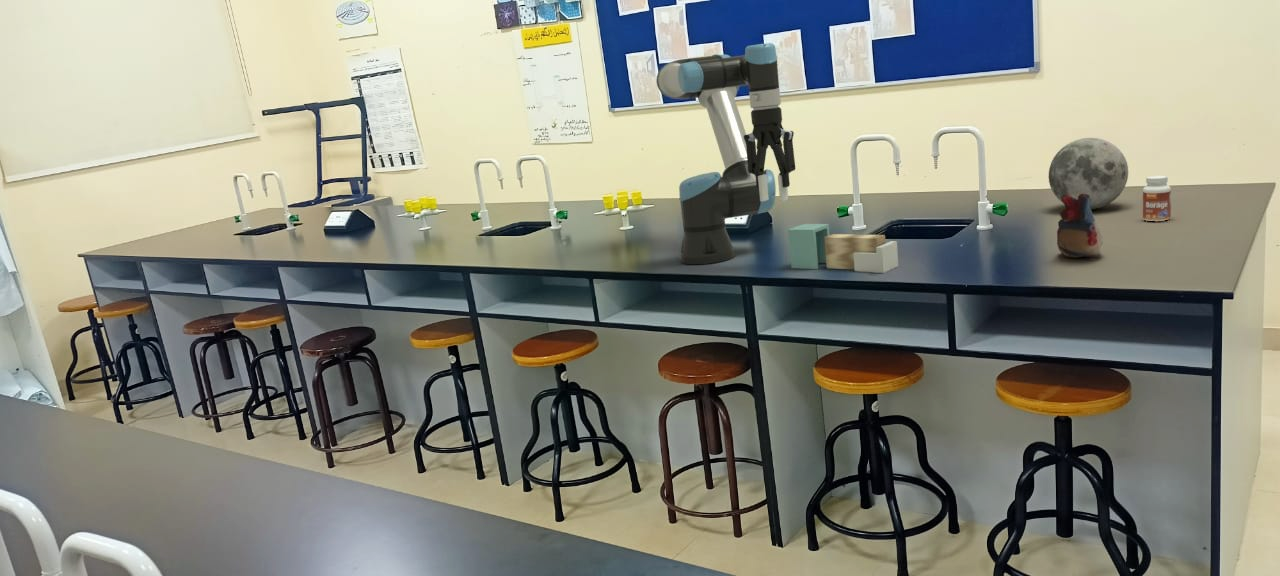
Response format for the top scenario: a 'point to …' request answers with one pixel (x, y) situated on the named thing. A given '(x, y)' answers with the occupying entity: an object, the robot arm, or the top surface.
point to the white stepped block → (877, 259)
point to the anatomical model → (1078, 228)
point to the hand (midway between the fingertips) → (774, 200)
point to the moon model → (1089, 171)
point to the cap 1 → (808, 245)
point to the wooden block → (849, 248)
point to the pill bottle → (1156, 198)
